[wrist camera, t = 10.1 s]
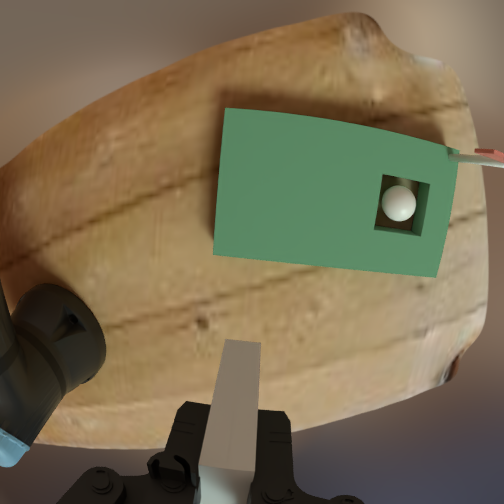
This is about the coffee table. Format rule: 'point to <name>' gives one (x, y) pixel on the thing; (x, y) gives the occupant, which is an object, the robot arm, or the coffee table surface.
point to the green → (327, 193)
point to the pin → (481, 158)
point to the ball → (398, 203)
